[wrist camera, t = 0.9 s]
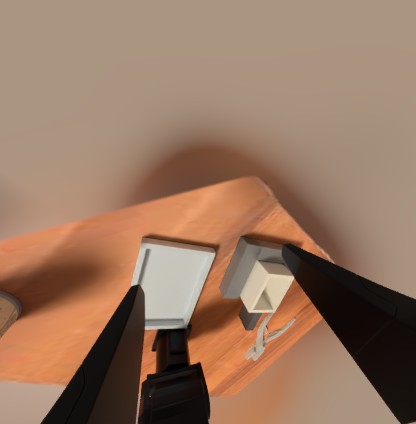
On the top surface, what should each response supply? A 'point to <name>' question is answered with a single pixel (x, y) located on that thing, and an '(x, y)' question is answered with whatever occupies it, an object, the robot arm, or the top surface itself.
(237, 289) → the bay
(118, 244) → the top surface
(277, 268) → the box
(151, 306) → the tray
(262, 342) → the pliers
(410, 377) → the robot arm
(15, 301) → the aerosol can
